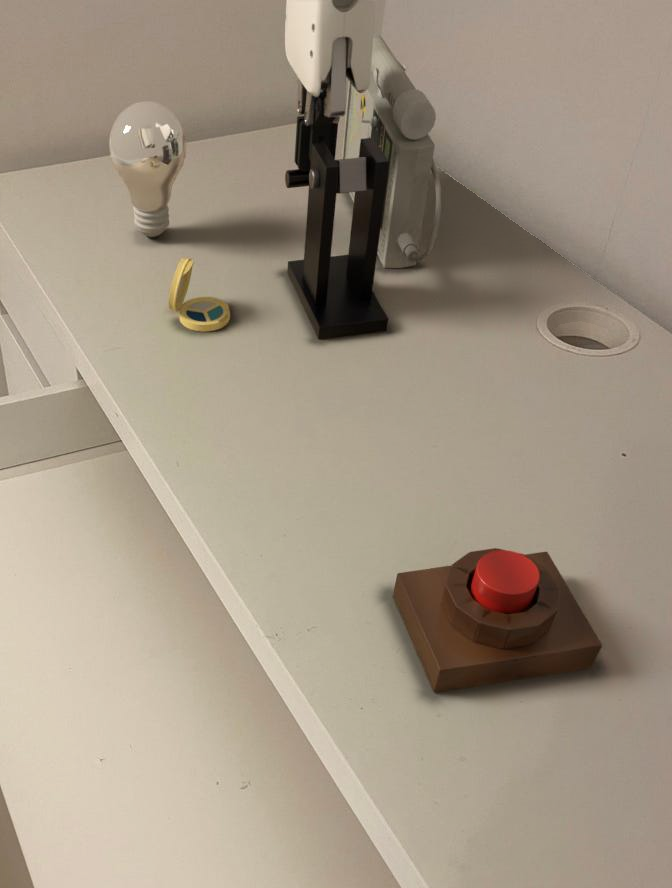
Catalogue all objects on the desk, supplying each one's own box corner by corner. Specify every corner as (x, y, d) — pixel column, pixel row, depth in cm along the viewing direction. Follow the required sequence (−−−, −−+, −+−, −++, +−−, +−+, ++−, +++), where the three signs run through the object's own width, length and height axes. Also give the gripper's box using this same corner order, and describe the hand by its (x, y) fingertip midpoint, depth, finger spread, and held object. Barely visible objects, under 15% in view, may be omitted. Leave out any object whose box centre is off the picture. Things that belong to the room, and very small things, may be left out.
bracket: (287, 273, 89) (295, 127, 80) (350, 266, 90) (366, 120, 80) (318, 339, 82) (331, 187, 72) (386, 331, 83) (409, 179, 73)
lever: (285, 194, 88) (284, 164, 86) (339, 188, 88) (338, 158, 87) (322, 195, 77) (321, 161, 76) (383, 188, 77) (383, 155, 76)
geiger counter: (341, 22, 92) (408, 135, 75) (407, 18, 92) (489, 129, 76) (329, 173, 102) (386, 300, 86) (389, 168, 102) (456, 294, 86)
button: (518, 566, 60) (525, 545, 58) (542, 609, 57) (550, 589, 56) (461, 574, 59) (467, 554, 58) (483, 618, 57) (490, 598, 56)
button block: (538, 574, 64) (554, 530, 61) (592, 668, 59) (612, 624, 56) (392, 596, 63) (400, 552, 60) (433, 693, 58) (445, 650, 55)
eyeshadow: (222, 334, 83) (222, 280, 79) (166, 326, 84) (163, 272, 80) (235, 307, 86) (236, 254, 82) (181, 299, 87) (180, 246, 83)
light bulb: (153, 262, 91) (146, 127, 82) (101, 238, 94) (89, 106, 85) (203, 234, 94) (201, 101, 85) (151, 211, 97) (144, 81, 88)
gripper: (415, -61, 68) (380, 201, 82) (353, -116, 77) (332, 127, 91) (309, -53, 67) (293, 210, 81) (261, -110, 76) (253, 135, 90)
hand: (314, 165), depth 86 cm, fingers closed
